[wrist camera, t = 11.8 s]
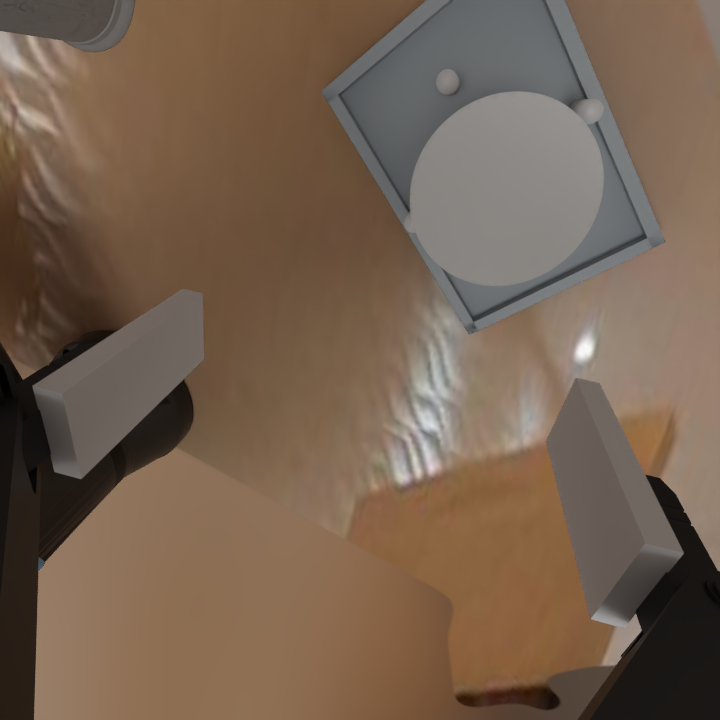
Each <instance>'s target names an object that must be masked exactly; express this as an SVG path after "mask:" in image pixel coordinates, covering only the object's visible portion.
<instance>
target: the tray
mask: <svg viewBox="0 0 720 720" xmlns="http://www.w3.org/2000/svg"><path fill="white" fill-rule="evenodd" d="M512 91H522V92H532V93H538V94H542V95H545V96H548V97H551V98H553V99H555V100H557V101H560V102H561V103H563V104H565V105H566V106H568V107H569V108H570V109H572V110H573V111H574V112H575V113H576V114H578V115H579V116H580V117H581V119H582V120H583V121H584V122H585V123H586V125H587V126H588V127H589V129H590V130H591V132H592V134H593V135H594V137H595V140H596V142H597V144H598V147H599V149H600V153H601V157H602V162H603V170H604V185H603V194H602V199H601V203H600V207H599V210H598V213H597V215H596V218H595V220H594V222H593V224H592V226H591V228H590V230H589V232H588V233H587V235H586V236H585V238H584V239H583V241H582V242H581V243H580V245H579V246H578V247H577V248H576V249H575V250H574V251H573V253H572V254H570V255H569V256H568V257H567V258H566V259H565V260H564V261H563V262H561V263H560V264H559V265H557V266H556V267H555V268H553V269H552V270H550V271H548V272H547V273H545V274H543V275H541V276H539V277H536V278H534V279H531V280H529V281H526V282H522V283H518V284H514V285H507V286H485V285H478V284H474V283H470V282H467V281H464V280H462V279H459V278H457V277H455V276H453V275H451V274H450V273H448V272H447V271H445V270H444V269H442V268H441V267H440V266H439V265H438V264H437V263H436V262H434V261H433V259H432V258H431V257H430V256H429V255H428V254H427V252H426V251H425V249H424V248H423V246H422V245H421V243H420V241H419V239H418V237H417V235H416V232H415V229H414V226H413V222H412V218H411V212H410V188H411V181H412V176H413V173H414V169H415V166H416V163H417V161H418V159H419V156H420V154H421V152H422V150H423V148H424V147H425V145H426V144H427V142H428V140H429V139H430V138H431V136H432V135H433V134H434V132H435V131H436V130H437V129H438V128H439V127H440V126H441V125H442V124H443V123H444V122H445V121H446V120H447V119H448V118H449V117H450V116H451V115H453V114H454V113H455V112H457V111H458V110H460V109H461V108H463V107H464V106H466V105H468V104H470V103H472V102H474V101H476V100H478V99H481V98H483V97H486V96H490V95H493V94H498V93H503V92H512ZM321 92H322V93H323V95H324V97H325V98H326V100H327V101H328V103H329V105H330V106H331V108H332V110H333V111H334V113H335V115H336V116H337V118H338V120H339V121H340V123H341V125H342V126H343V128H344V130H345V131H346V133H347V134H348V136H349V138H350V139H351V141H352V143H353V144H354V146H355V148H356V149H357V151H358V153H359V154H360V156H361V158H362V159H363V161H364V162H365V164H366V166H367V167H368V169H369V171H370V172H371V174H372V176H373V177H374V179H375V181H376V182H377V184H378V186H379V187H380V189H381V190H382V192H383V194H384V195H385V197H386V199H387V200H388V202H389V204H390V205H391V207H392V209H393V210H394V212H395V214H396V215H397V217H398V219H399V220H400V222H401V223H402V225H403V227H404V228H405V230H406V232H407V233H408V235H409V237H410V238H411V240H412V242H413V243H414V245H415V247H416V248H417V250H418V251H419V253H420V255H421V256H422V258H423V260H424V261H425V263H426V265H427V266H428V268H429V270H430V271H431V273H432V275H433V276H434V278H435V280H436V281H437V283H438V284H439V286H440V288H441V289H442V291H443V293H444V294H445V296H446V298H447V299H448V301H449V303H450V304H451V306H452V308H453V309H454V311H455V312H456V314H457V316H458V317H459V319H460V321H461V322H462V324H463V326H464V327H465V329H466V331H467V332H468V334H469V335H470V334H472V333H474V332H477V331H479V330H481V329H483V328H485V327H487V326H489V325H491V324H493V323H496V322H498V321H500V320H502V319H504V318H506V317H508V316H510V315H513V314H515V313H517V312H519V311H521V310H523V309H525V308H527V307H529V306H532V305H534V304H536V303H538V302H540V301H542V300H544V299H546V298H548V297H551V296H553V295H555V294H557V293H559V292H561V291H563V290H565V289H568V288H570V287H572V286H574V285H576V284H578V283H580V282H582V281H584V280H587V279H589V278H591V277H593V276H595V275H597V274H599V273H601V272H604V271H606V270H608V269H610V268H612V267H614V266H616V265H618V264H620V263H623V262H625V261H627V260H629V259H631V258H633V257H635V256H637V255H639V254H642V253H644V252H646V251H648V250H650V249H652V248H654V247H656V246H659V245H661V244H663V243H665V240H664V237H663V235H662V233H661V230H660V228H659V225H658V223H657V221H656V218H655V216H654V213H653V211H652V209H651V206H650V204H649V201H648V199H647V197H646V194H645V192H644V189H643V187H642V185H641V182H640V180H639V177H638V175H637V173H636V170H635V168H634V165H633V163H632V161H631V158H630V156H629V153H628V151H627V149H626V146H625V144H624V141H623V139H622V137H621V134H620V132H619V129H618V127H617V125H616V122H615V120H614V117H613V115H612V113H611V110H610V108H609V105H608V103H607V101H606V98H605V96H604V93H603V91H602V88H601V86H600V84H599V81H598V79H597V76H596V74H595V72H594V69H593V67H592V64H591V62H590V60H589V57H588V55H587V52H586V50H585V48H584V45H583V43H582V40H581V38H580V36H579V33H578V31H577V28H576V26H575V24H574V21H573V19H572V16H571V14H570V12H569V9H568V7H567V4H566V2H565V0H426V1H425V2H424V3H423V4H421V5H420V6H419V7H418V8H417V9H416V10H414V11H413V12H412V13H411V14H410V15H409V16H408V17H406V18H405V19H404V20H403V21H402V22H401V23H399V24H398V25H397V26H396V27H395V28H394V29H393V30H391V31H390V32H389V33H388V34H387V35H386V36H384V37H383V38H382V39H381V40H380V41H379V42H378V43H376V44H375V45H374V46H373V47H372V48H371V49H369V50H368V51H367V52H366V53H365V54H364V55H362V56H361V57H360V58H359V59H358V60H357V61H356V62H354V63H353V64H352V65H351V66H350V67H349V68H347V69H346V70H345V71H344V72H343V73H342V74H341V75H339V76H338V77H337V78H336V79H335V80H334V81H332V82H331V83H330V84H329V85H328V86H327V87H326V88H324V89H323V90H322V91H321Z"/></svg>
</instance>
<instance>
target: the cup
mask: <svg viewBox="0 0 720 720" xmlns="http://www.w3.org/2000/svg"><path fill="white" fill-rule="evenodd" d="M603 185H604V170H603V162H602V157H601V153H600V149H599V147H598V144H597V142H596V140H595V137H594V135H593V134H592V132H591V130H590V129H589V127H588V126H587V125H586V123H585V122H584V121H583V120H582V119H581V117H580V116H579V115H578V114H576V113H575V112H574V111H573V110H572V109H570V108H569V107H568V106H566V105H565V104H563V103H561V102H560V101H557V100H555V99H553V98H551V97H548V96H545V95H542V94H538V93H532V92H522V91H512V92H503V93H498V94H493V95H490V96H486V97H483V98H481V99H478V100H476V101H474V102H472V103H470V104H468V105H466V106H464V107H463V108H461V109H460V110H458V111H457V112H455V113H454V114H453V115H451V116H450V117H449V118H448V119H447V120H446V121H445V122H444V123H443V124H442V125H441V126H440V127H439V128H438V129H437V130H436V131H435V132H434V134H433V135H432V136H431V138H430V139H429V140H428V142H427V144H426V145H425V147H424V148H423V150H422V152H421V154H420V156H419V159H418V161H417V163H416V166H415V169H414V173H413V176H412V181H411V188H410V212H411V218H412V222H413V226H414V229H415V232H416V235H417V237H418V239H419V241H420V243H421V245H422V246H423V248H424V249H425V251H426V252H427V254H428V255H429V256H430V257H431V258H432V259H433V261H434V262H436V263H437V264H438V265H439V266H440V267H441V268H442V269H444V270H445V271H447V272H448V273H450V274H451V275H453V276H455V277H457V278H459V279H462V280H464V281H467V282H470V283H474V284H478V285H485V286H507V285H514V284H518V283H522V282H526V281H529V280H531V279H534V278H536V277H539V276H541V275H543V274H545V273H547V272H548V271H550V270H552V269H553V268H555V267H556V266H557V265H559V264H560V263H561V262H563V261H564V260H565V259H566V258H567V257H568V256H569V255H570V254H572V253H573V251H574V250H575V249H576V248H577V247H578V246H579V245H580V243H581V242H582V241H583V239H584V238H585V236H586V235H587V233H588V232H589V230H590V228H591V226H592V224H593V222H594V220H595V218H596V215H597V213H598V210H599V207H600V203H601V199H602V194H603Z"/></svg>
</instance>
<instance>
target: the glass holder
mask: <svg viewBox="0 0 720 720" xmlns="http://www.w3.org/2000/svg"><path fill="white" fill-rule="evenodd" d="M134 4H135V0H0V31H5V32H11V33H18V34H24V35H31V36H37V37H44V38H51V39H57V40H63V41H64V42H66V43H68V44H69V45H71V46H73V47H75V48H78V49H80V50H83V51H88V52H100V51H105V50H107V49H110V48H112V47H113V46H114V45H116V44H117V43H118V42H119V41H120V40H121V39H122V38H123V36H124V35H125V33H126V31H127V29H128V28H129V25H130V22H131V19H132V16H133V11H134Z"/></svg>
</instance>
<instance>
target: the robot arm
mask: <svg viewBox="0 0 720 720" xmlns="http://www.w3.org/2000/svg"><path fill="white" fill-rule="evenodd" d="M203 360H204V327H203V293H199V292H195V291H191V290H186V289H181V290H180V291H178V292H177V293H175V294H174V295H172V296H170V297H169V298H167V299H166V300H164V301H163V302H161V303H160V304H158V305H157V306H155V307H154V308H152V309H150V310H149V311H147V312H146V313H144V314H143V315H141V316H140V317H138V318H137V319H135V320H133V321H132V322H130V323H129V324H127V325H126V326H124V327H123V328H121V329H120V330H118V331H116V332H113V331H95V332H91V333H88V334H85V335H83V336H81V337H80V338H78V339H76V340H75V341H73V342H71V343H69V344H68V345H66V346H65V347H64V348H63V349H61V350H60V351H59V353H58V354H57V355H56V356H55V358H54V359H53V361H52V362H51V363H50V364H49V366H45V367H43V368H42V369H40V370H38V371H37V372H35V373H34V374H32V375H30V376H29V377H27V378H26V379H24V380H23V379H22V378H21V376H20V374H19V373H18V371H17V369H16V368H15V366H14V364H13V363H12V361H11V359H10V357H9V356H8V354H7V352H6V351H5V349H4V347H3V346H2V344H1V342H0V720H34V697H35V696H34V695H35V663H36V628H37V626H36V625H37V595H38V594H37V593H38V570H40V569H41V568H42V567H43V566H44V564H45V563H44V562H45V561H46V560H47V559H48V558H49V557H50V556H51V555H52V554H53V553H54V552H55V551H56V550H57V548H58V547H59V546H60V545H61V544H62V543H63V542H64V541H65V540H66V539H67V538H68V537H69V536H70V534H71V533H72V532H73V531H74V530H75V529H76V528H77V527H78V526H79V525H80V524H81V523H82V522H83V520H84V519H85V518H86V517H87V516H88V515H89V514H90V513H91V512H92V511H93V510H94V509H95V508H96V507H97V505H98V504H99V503H100V502H101V501H102V500H103V499H104V498H105V497H106V496H107V495H108V494H109V493H110V492H111V491H112V489H113V488H114V487H115V486H116V485H117V484H118V483H119V482H120V481H121V480H122V479H123V478H124V477H126V476H127V475H129V474H131V473H133V472H135V471H136V470H139V469H140V468H142V467H144V466H146V465H147V464H149V463H151V462H153V461H154V460H156V459H158V458H160V457H163V456H165V455H166V454H168V453H169V452H171V451H172V450H173V449H174V448H175V447H176V446H177V445H178V444H179V443H180V441H181V440H182V439H183V438H184V437H185V436H186V434H187V433H188V431H189V429H190V427H191V424H192V418H193V408H192V403H191V399H190V395H189V393H188V390H187V388H186V386H185V384H184V382H183V379H184V378H185V377H186V376H188V375H189V374H190V373H191V372H192V371H193V370H194V369H195V368H196V367H197V366H198V365H199V364H200V363H201V362H202V361H203ZM546 443H547V447H548V451H549V455H550V459H551V463H552V467H553V471H554V475H555V479H556V483H557V487H558V491H559V495H560V499H561V503H562V507H563V511H564V515H565V519H566V523H567V527H568V531H569V535H570V539H571V543H572V547H573V551H574V555H575V559H576V563H577V567H578V571H579V575H580V579H581V583H582V587H583V591H584V595H585V599H586V603H587V607H588V611H589V615H590V619H592V620H596V621H600V622H603V623H607V624H610V625H614V626H618V627H621V628H624V627H625V626H626V625H627V624H628V623H629V621H630V620H631V619H632V618H633V616H634V615H635V614H637V617H638V620H639V623H640V626H641V629H642V631H641V632H640V634H639V635H638V636H637V637H636V638H635V640H634V641H633V642H632V643H631V644H630V645H629V647H628V648H627V649H626V650H625V651H624V653H623V654H622V655H621V657H622V658H621V659H620V661H619V662H618V664H617V665H616V666H615V668H614V669H613V671H612V672H611V674H610V675H609V676H608V678H607V679H606V681H605V682H604V683H603V685H602V686H601V688H600V689H599V691H598V692H597V693H596V694H595V696H594V697H593V699H592V700H591V702H590V703H589V704H588V706H587V707H586V709H585V710H584V711H583V713H582V714H581V716H580V717H579V718H578V720H720V572H719V571H718V570H717V569H716V567H715V565H714V563H713V561H712V560H711V558H710V556H709V554H708V552H707V551H706V549H705V547H704V545H703V543H702V541H701V540H700V538H699V536H698V534H697V532H696V531H695V529H694V527H693V526H691V522H690V520H689V518H688V516H687V514H686V513H684V509H683V507H682V505H681V503H680V502H679V500H678V498H677V496H676V494H675V493H674V492H673V491H672V490H671V489H670V488H669V487H668V486H667V485H666V484H665V483H664V482H663V481H662V480H661V479H660V478H657V477H653V476H649V475H645V474H644V472H643V470H642V468H641V466H640V464H639V462H638V460H637V458H636V456H635V454H634V452H633V450H632V448H631V446H630V444H629V442H628V440H627V438H626V436H625V434H624V432H623V429H622V427H621V425H620V423H619V421H618V419H617V417H616V415H615V413H614V411H613V409H612V407H611V405H610V403H609V401H608V399H607V397H606V395H605V393H604V391H603V389H602V387H601V385H600V383H596V382H591V381H587V380H583V379H578V378H576V379H575V381H574V383H573V385H572V387H571V389H570V392H569V394H568V396H567V398H566V400H565V402H564V404H563V406H562V409H561V411H560V413H559V415H558V417H557V419H556V421H555V423H554V426H553V428H552V430H551V432H550V434H549V436H548V438H547V441H546Z"/></svg>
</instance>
